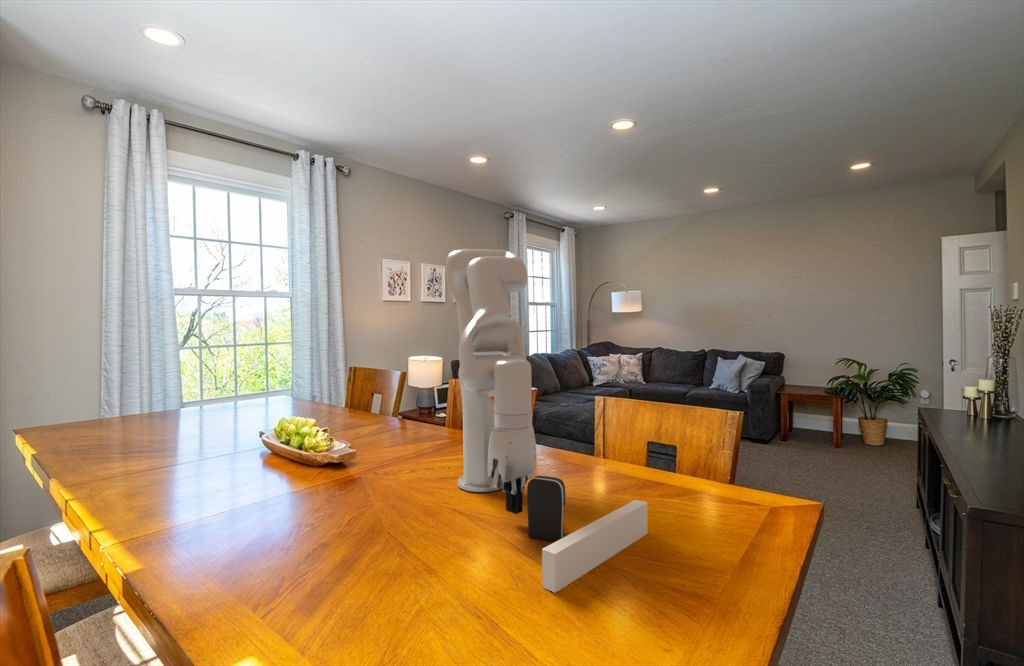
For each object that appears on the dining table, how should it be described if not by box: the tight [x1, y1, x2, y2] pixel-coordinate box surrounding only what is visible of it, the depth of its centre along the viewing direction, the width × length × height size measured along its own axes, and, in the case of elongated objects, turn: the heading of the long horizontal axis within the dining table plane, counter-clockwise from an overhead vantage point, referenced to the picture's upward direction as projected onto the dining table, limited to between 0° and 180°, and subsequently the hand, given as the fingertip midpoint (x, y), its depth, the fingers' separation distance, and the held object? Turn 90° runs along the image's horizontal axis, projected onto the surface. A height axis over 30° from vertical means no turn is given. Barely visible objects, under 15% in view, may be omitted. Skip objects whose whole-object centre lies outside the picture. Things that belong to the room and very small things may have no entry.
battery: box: [526, 475, 566, 543], centre depth 95 cm, size 7×4×11 cm, turn 66°
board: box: [541, 499, 649, 594], centre depth 86 cm, size 28×2×6 cm, turn 136°
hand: (514, 511), depth 101 cm, fingers closed
